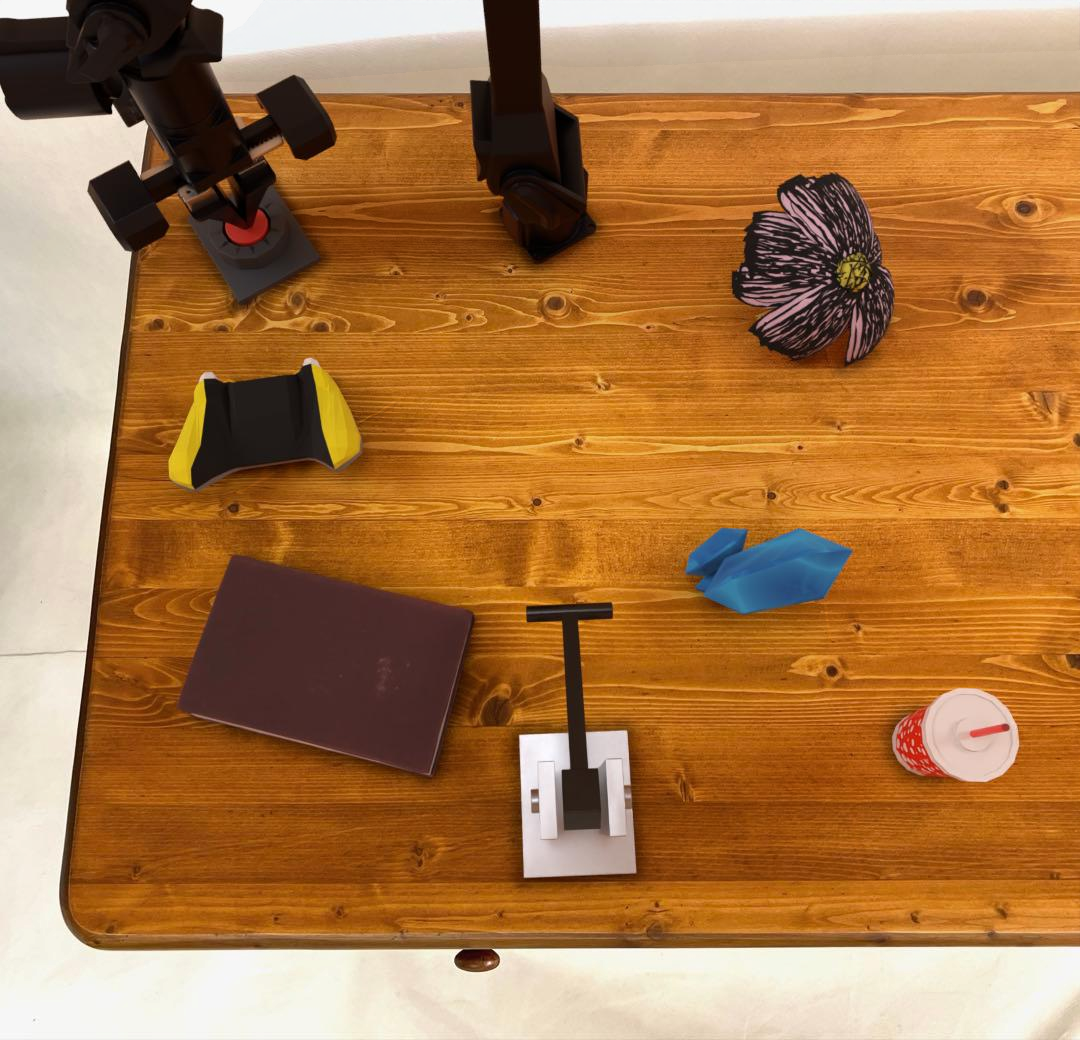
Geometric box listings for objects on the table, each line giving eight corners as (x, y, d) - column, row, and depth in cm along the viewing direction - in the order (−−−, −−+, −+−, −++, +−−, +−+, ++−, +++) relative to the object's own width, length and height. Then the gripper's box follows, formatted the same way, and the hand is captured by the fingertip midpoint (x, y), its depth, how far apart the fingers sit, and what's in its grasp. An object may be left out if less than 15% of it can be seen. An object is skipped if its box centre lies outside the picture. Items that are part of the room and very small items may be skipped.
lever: (526, 617, 69) (525, 596, 68) (611, 614, 69) (612, 593, 68) (532, 832, 59) (530, 814, 57) (632, 828, 59) (634, 809, 57)
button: (224, 230, 86) (217, 219, 84) (260, 211, 86) (254, 199, 84) (243, 260, 85) (237, 249, 83) (279, 240, 85) (274, 229, 84)
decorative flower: (802, 364, 71) (759, 163, 71) (722, 394, 82) (685, 220, 82) (958, 337, 76) (918, 149, 76) (863, 369, 87) (828, 205, 87)
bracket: (519, 735, 73) (510, 714, 58) (626, 731, 73) (644, 708, 58) (524, 877, 71) (516, 893, 55) (635, 872, 71) (656, 887, 55)
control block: (188, 222, 87) (178, 205, 85) (268, 179, 88) (260, 161, 86) (241, 305, 84) (232, 290, 82) (322, 261, 86) (315, 245, 83)
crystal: (669, 531, 71) (832, 479, 69) (681, 554, 79) (827, 509, 77) (700, 629, 69) (869, 579, 67) (708, 643, 77) (860, 598, 75)
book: (243, 560, 78) (229, 549, 75) (477, 617, 76) (473, 608, 73) (189, 715, 74) (173, 711, 71) (433, 779, 73) (428, 777, 70)
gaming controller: (371, 483, 80) (360, 372, 82) (358, 459, 74) (347, 342, 77) (187, 510, 79) (182, 397, 82) (161, 488, 74) (156, 369, 77)
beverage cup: (968, 712, 73) (1060, 689, 60) (960, 795, 72) (1053, 789, 58) (886, 694, 74) (960, 667, 61) (876, 776, 72) (949, 766, 59)
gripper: (243, -38, 72) (296, 108, 87) (11, 77, 70) (107, 208, 84) (316, 65, 69) (358, 198, 84) (77, 189, 67) (164, 304, 82)
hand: (246, 224), depth 84 cm, fingers closed, pressing on button
